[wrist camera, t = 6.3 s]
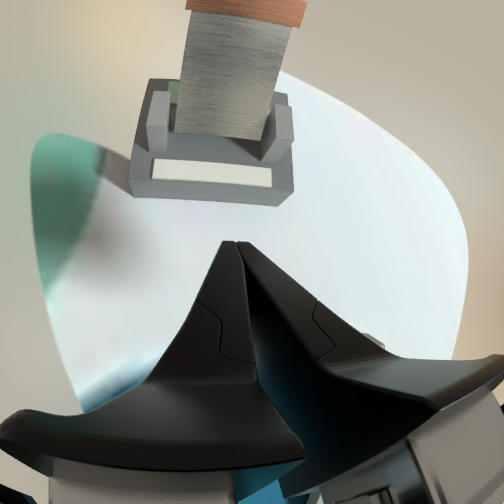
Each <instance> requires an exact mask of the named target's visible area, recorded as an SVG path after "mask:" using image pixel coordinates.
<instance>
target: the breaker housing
mask: <svg viewBox="0 0 504 504" xmlns="http://www.w3.org/2000/svg"><path fill="white" fill-rule="evenodd" d="M179 84H180V80H176V79H149V82H148V86H147V89H146V93H145V97H144V100H143V104H142V108H141V113H140V117H139V121H138V126H137V130H136V135H135V140H134V144H133V150H132V155H131V160H130V166H129V172H128V178H127V180H128V183H129V186H130V188H131V191H132V194H133V196H134V197H140V198H165V199H185V200H202V201H217V202H231V203H244V204H256V205H267V206H279V205H280V204H281V203H282V202H283V201H284V200H285V199H287V198H288V197H289V196H290V195H291V194H292V193H293V192H294V183H293V165H292V149H291V144H292V142H293V141H294V132H293V120H292V109H291V107H290V106H288V97H287V94H285V93H280V92H275V91H274V92H273V95H272V99H271V102H270V106H269V110H268V113H267V117H266V121H265V124H264V128H263V132H262V136H261V139H260V141H258V140H251V139H243V138H234V137H225V136H215V135H204V134H191V133H175V132H174V130H175V119H176V110H177V101H178V92H179Z"/></svg>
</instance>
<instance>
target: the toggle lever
mask: <svg viewBox="0 0 504 504" xmlns="http://www.w3.org/2000/svg"><path fill="white" fill-rule="evenodd" d="M306 5H307V2H305V1H302V0H187V3H186V8H185V9H186V10H192V12H191V17H190V22H189V27H188V33H187V38H186V45H185V51H184V57H183V63H182V70H181V77H180V84H179V92H178V101H177V110H176V119H175V130H174V132H175V133H191V134H204V135H215V136H225V137H234V138H243V139H251V140H258V141H260V139H261V136H262V132H263V128H264V124H265V121H266V117H267V113H268V110H269V106H270V102H271V99H272V95H273V92H274V88H275V84H276V81H277V77H278V74H279V70H280V66H281V63H282V60H283V56H284V52H285V49H286V45H287V42H288V39H289V35H290V31H291V29H292V26H294V27H297V28H300V24H301V21H302V18H303V15H304V11H305V8H306Z"/></svg>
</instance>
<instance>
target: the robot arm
mask: <svg viewBox="0 0 504 504" xmlns="http://www.w3.org/2000/svg"><path fill="white" fill-rule="evenodd" d="M503 380H504V355H500V354H493V355H490V356H488V357H486V358H484V359H478V360H467V361H466V360H465V361H458V360H457V361H456V360H455V361H454V360H425V359H408V358H403V357H399V356H396V355H394V354H392V353H390V352H388V351H386V350H385V349H383V348H382V347H380V346H379V345H378V344H376V343H375V342H373V341H372V340H370V339H369V338H368V337H366V336H365V335H363V334H362V333H360V332H359V331H358V330H356V329H355V328H353V327H352V326H351V325H349V324H348V323H347V322H345V321H344V320H342V319H341V318H340V317H338V316H337V315H336V314H335V313H333V312H332V311H331V310H330V309H328V308H327V307H326V306H325V305H324V304H322V303H321V302H320V301H317V299H316V298H315V297H314V296H313V295H312V294H310V293H309V292H308V291H307V290H306V289H305V288H303V287H302V286H301V285H300V284H299V283H297V282H296V281H295V280H294V279H293V278H291V277H290V276H289V275H288V274H287V273H285V272H284V271H283V270H282V269H281V268H279V267H278V266H277V265H276V264H275V263H273V262H272V261H271V260H270V259H269V258H267V257H266V256H265V255H264V254H263V253H262V252H260V251H259V250H258V249H257V248H256V247H254V246H253V245H252V244H251V243H249V242H241V241H238V242H235V241H222V243H221V245H220V247H219V249H218V251H217V253H216V255H215V257H214V260H213V262H212V264H211V266H210V268H209V270H208V273H207V275H206V277H205V279H204V281H203V284H202V286H201V288H200V290H199V292H198V295H197V297H196V299H195V301H194V303H193V305H192V308H191V310H190V312H189V314H188V316H187V318H186V320H185V322H184V323H183V325H182V327H181V328H180V330H179V331H178V333H177V335H176V336H175V338H174V339H173V341H172V342H171V344H170V345H169V346H168V348H167V349H166V351H165V352H164V354H163V355H162V357H161V358H160V360H159V361H158V363H157V364H156V366H155V367H154V368H153V370H152V371H151V373H150V374H149V375H148V376H147V377H146V378H145V379H144V381H142V382H141V383H140V384H138V385H137V386H135V387H133V388H132V389H130V390H128V391H126V392H125V393H123V394H121V395H119V396H118V397H116V398H114V399H112V400H110V401H108V402H107V403H105V404H103V405H101V406H99V407H97V408H96V409H94V410H92V411H89V412H87V413H84V414H79V415H71V416H62V415H55V414H50V413H45V412H41V411H36V410H31V409H24V410H19V411H17V412H16V413H14V414H13V415H11V416H10V417H9V418H7V419H5V420H4V421H3V422H2V423H1V424H0V449H1V450H3V451H4V452H6V453H7V454H9V455H10V456H12V457H14V458H15V459H17V460H18V461H20V462H22V463H24V464H25V465H27V466H29V467H30V468H32V469H34V470H36V471H38V472H40V473H41V474H43V475H46V476H47V477H49V504H238V502H239V501H240V500H242V499H244V498H246V497H248V496H250V495H251V494H253V493H255V492H257V491H258V490H260V489H262V488H263V487H265V486H267V485H268V484H270V483H272V482H273V481H275V480H276V479H278V481H279V484H280V488H281V491H282V494H283V497H284V499H286V498H291V497H296V496H300V495H304V494H308V493H312V492H316V491H319V490H320V493H321V497H322V500H323V503H324V504H503V502H504V404H503V405H502V406H500V405H499V403H498V401H497V399H496V398H495V396H494V394H493V392H492V390H494V389H495V388H496V387H497V386H498V385H499V384H500V383H501V382H502V381H503ZM0 504H37V503H36V502H35V500H34V499H33V498H32V497H31V496H29V495H26V494H23V493H21V492H18V491H16V490H13V489H11V488H8V487H6V486H4V485H2V484H0Z"/></svg>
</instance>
